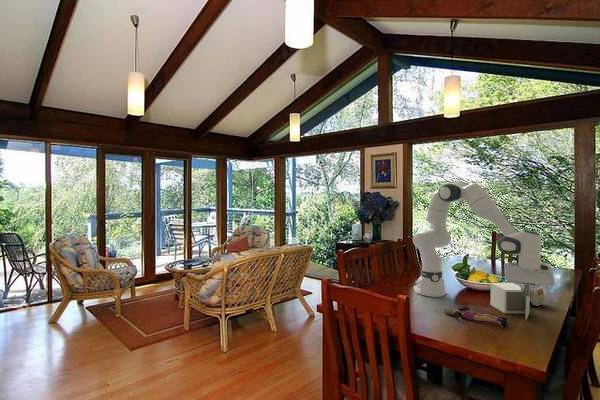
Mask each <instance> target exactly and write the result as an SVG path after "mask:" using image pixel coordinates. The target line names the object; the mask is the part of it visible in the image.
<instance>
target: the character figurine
mask: <svg viewBox="0 0 600 400" xmlns="http://www.w3.org/2000/svg"><path fill="white" fill-rule="evenodd" d="M442 310H443V311H444V313H445V314H447V315H448V316H451V315H452V316H454V317H456V318H458V320H459V321H460V322H462V321H463V319H465V320H469V321H474V322H475V321H479V322H480V321H481V322H483V321H485V322H491V323H496V324H499V325H500V326H501V328H503V329H505V328H506V326H507V325H508V318H507V317H502V316H499V317H498V316H494V315H493V314H492V315H491V314H489V313H488V314H487V313H484V314H482V313H479V312H476V311H475V312H474V311H472V310H473V307H472V306H470V307H469V306H468V307H458V308H454V309H453V308H452V307H450V306H444V307H442ZM463 311H464V312H463ZM462 318H463V319H462Z"/></svg>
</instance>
